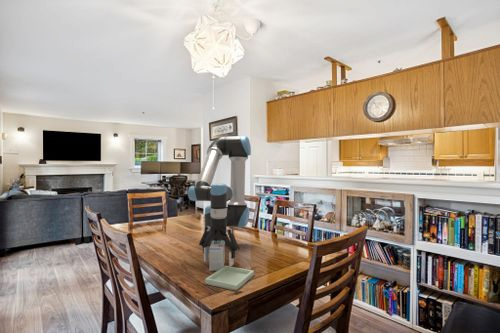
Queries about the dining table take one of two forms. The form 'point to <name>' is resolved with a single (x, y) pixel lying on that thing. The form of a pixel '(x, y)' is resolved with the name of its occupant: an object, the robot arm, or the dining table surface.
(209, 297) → the dining table surface
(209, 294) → the dining table surface
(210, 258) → the light bulb box
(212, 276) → the tray
